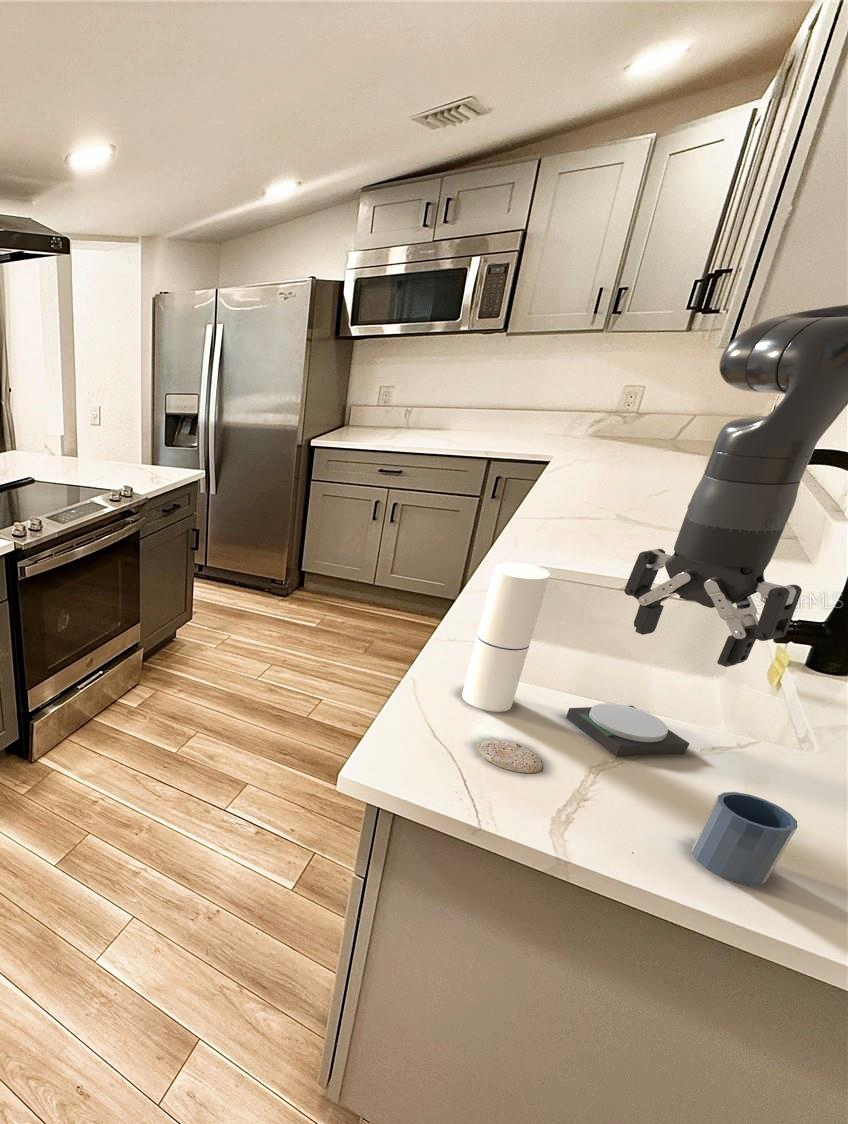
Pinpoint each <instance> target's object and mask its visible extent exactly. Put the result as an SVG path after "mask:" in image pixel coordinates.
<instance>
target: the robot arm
mask: <svg viewBox="0 0 848 1124" xmlns="http://www.w3.org/2000/svg"><path fill="white" fill-rule="evenodd" d="M718 368H719V369H718V370H719V374H720V376H721V378H722V380H723V381H724V382H725V383H726V384H727V385H729V386H731V387H733V388H734V389H737V390H739V391H740V390H741V391H745V392H752V393H763V394H779V395H784V397H783V399H782V400H781V401H780V402H779V404H778V405H777V406H776V407H775V408H773V410H772V411H771V412H770V413H769V414H768V415H760V416H748V417H741V418H736V419H734V420H731V421H729V422H727V423H726V424H725V425H724V426H722V428H721V429H720V431H719V432H718V434H717V437H716V439H715V442H714V444H713V446H712V449H711V452H710V455H709V458H708V461H707V463H706V466H705V468H704V471H703V472H704V473H703V474H702V477H701V479H700V481H699V483H698V484H697V486H696V488H695V489H694V490H693V491H694V492H693V493H692V496H691V499H690V502H689V503H688V504H687V510H686V513H685V515H684V518H683V520H682V524H681V526H680V530H679V533H678V535H677V538H676V540H675V543H674V546H673V551H674V553H673V554H672V555H670V554H667V553H666V551H665V550H664V549H663V548H656V549H654V548H653V549H649V550H643V551H641V552H639V554H638V556H637V558H636V561H635V563H634V565H633V567H632V570H631V573H630V575H629V577H628V580H627V582H626V584H625V586H624V589H623V590H624V594H625V595H626V596H628V597H630V596H632V597H633V598H635V599H636V600H637V601H638V604H639V606H638V609H637V612H636V614H635V617H634V620H633V627H634V628H635V633H636V634H640V635H643V636H645V635H649V634H652V633H654V632H655V631H656V629H657V626H658V624H659V621H660V618H661V615H662V613H663V610H664V607H665V605H662V603H664V602H665V601H667V600H669V599H671V598H673V597H676V596H679V599H681V600H685V601H690V602H696V603H698V604H699V605H701V606H703V607H706V608H710V609H713V608H715V610H716V611H717V613H718V616H719V618H720V619H721V620H723V621H725V623H726V625H727V627H728V629H729V631H730V634H731V635H728V636H727V637H726V639H725V643H724V645H723V647H722V650H721V652H720V654H719V657H718V659H717V663H716V664H717V665H719V666H722V667H725V668H727V667H732V666H736V665H738V664H742V663H745V661H748V658H749V656H750V654H751V652H752V650H753V648H754V645H755V642H756V641H759V642H766V641H771V640H775V639H778V638H783V637H785V636H786V635H787V632H788V630H789V627H790V625H791V622H792V619H793V617H794V613H795V611H796V608H797V605H798V603H799V600H800V597H801V594H802V591H803V590H802V587H800V586H799V585H798V584H788V585H781V584H777V583H772V582H768V581H766V580H765V570H766V568H767V567H768V566H769V564H770V562H771V560H772V558H773V556H774V553H775V551H776V549H777V546H778V544H779V542H780V539H781V537H782V535H783V532H784V530H785V528H786V525H787V523H788V520H789V518H790V516H791V514H792V512H793V509H794V507H795V504H796V501H797V498H798V492H799V488H800V485H801V482H802V479H803V477H804V474H805V472H806V471H807V467H808V465H809V463H810V461H811V458H812V455H813V453H814V451H815V448H816V446H817V444H818V442H819V441H820V440H821V438H822V437H823V436H824V434H825V433H826V432H827V430H828V429H830V427H832V424H834V422H835V421H836V420H837V418H839V416H840V415H841V413H843V412H844V410H845V409H846V408H847V406H848V304H841V305H836V306H835V305H833V306H826V307H821V308H816V309H810V310H809V309H808V310H803V311H798V312H793V313H788V314H783V315H779V316H775V317H771V318H768V319H765V320H763V321H761V322H758V323H755V324H754V325H752V326H750V327H748V328H746V329H745V330H743V331H742V332H741V333H739V334H738V335H737V336H736V337H734V339H732V341H731V342H730V343H729V344H728V345H727V346H726V347H725V349H724V351H723V353H722V355H721V356H720V360H719V365H718ZM663 568H665V571H666V573H667V575H668V578H669V579H668V580H667V581H665V582H663V583H661V584H659V585H658V586H656V587H653V588H652V586H653V584H654V582H655V579H656V577H657V575H658V572H659V571H660V570H661V569H663ZM651 588H652V589H651ZM756 593H759V594H760V602H761V603H763V604H764V605H763V607H762V610H761V614H760V616H759V619H758V617H757V612H758V609H757V607H756V605H755V603H754V600H753V598H752V595H754V594H756ZM734 604H735V605H736V608H735V606H734Z"/></svg>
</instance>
